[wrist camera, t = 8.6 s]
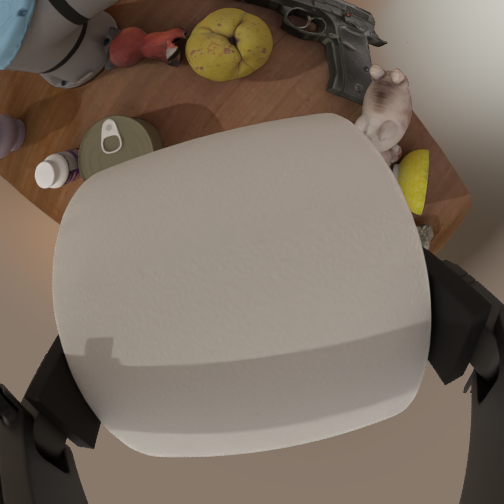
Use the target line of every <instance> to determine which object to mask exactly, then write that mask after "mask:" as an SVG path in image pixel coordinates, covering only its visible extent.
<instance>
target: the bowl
mask: <svg viewBox="0 0 504 504" xmlns="http://www.w3.org/2000/svg"><path fill="white" fill-rule="evenodd" d="M428 166H429V150H415V151H412V152H410V153H409V154H407V155H406V156H405V157H404V158H403V159H402V160H401V162H400V163H399V164H394V166H393V174H394V176H395V178H396V180H397V182H398V184H399V186H400V188H401V190H402V192H403V195H404V197H405V199H406V201H407V204H408V206H409V208H410V211H412V212H413V213H415V214H418V215H421V214H422V211H423V207H424V202H425V196H426V189H427V179H428Z"/></svg>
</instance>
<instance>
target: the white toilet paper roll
mask: <svg viewBox="0 0 504 504" xmlns="http://www.w3.org/2000/svg"><path fill="white" fill-rule="evenodd" d="M52 293H53V304H54V313H55V319H56V323H57V328H58V332H59V337H60V340H61V344H62V347H63V351H64V354H65V357H66V360H67V362H68V365H69V368H70V370H71V373H72V375H73V377H74V379H75V381H76V384H77V386H78V387H79V389H80V391H81V393H82V395H83V397H84V399H85V400H86V402H87V403H88V405H89V406H90V408H91V409H92V410H93V412H94V413H95V415H96V416H97V417H98V419H99V420H100V421H101V423H102V424H103V425H104V426H105V427H106V428H107V429H108V430H109V431H110V432H111V433H112V434H113V435H114V436H116V437H117V438H118V439H120V440H121V441H122V442H123V443H124V444H126V445H127V446H128V447H130V448H132V449H134V450H136V451H139V452H141V453H144V454H146V455H151V456H158V457H203V456H222V455H234V454H243V453H252V452H259V451H267V450H273V449H279V448H284V447H290V446H295V445H300V444H304V443H309V442H312V441H317V440H321V439H325V438H329V437H332V436H336V435H340V434H343V433H346V432H350V431H352V430H356V429H359V428H362V427H365V426H368V425H371V424H373V423H376V422H379V421H382V420H384V419H387V418H390V417H392V416H395V415H397V414H399V413H400V412H402V411H403V410H404V409H406V408H407V407H408V405H409V404H410V403H411V402H412V400H413V399H414V397H415V395H416V393H417V391H418V389H419V387H420V384H421V381H422V379H423V376H424V372H425V368H426V364H427V360H428V354H429V347H430V336H431V299H430V288H429V280H428V273H427V267H426V262H425V257H424V253H423V249H422V244H421V240H420V237H419V234H418V231H417V228H416V225H415V222H414V219H413V216H412V213H411V211H410V208H409V206H408V204H407V201H406V199H405V197H404V195H403V192H402V190H401V188H400V186H399V184H398V182H397V180H396V178H395V176H394V174H393V172H392V171H391V169H390V168H389V166H388V165H387V163H386V162H385V160H384V158H383V157H382V155H381V154H380V152H379V151H378V150H377V148H376V147H375V146H374V145H373V143H372V142H371V141H370V140H369V139H368V137H367V136H366V135H365V134H364V133H363V132H362V131H361V130H360V129H359V128H358V127H356V126H355V125H354V124H353V123H351V122H350V121H349V120H347V119H345V118H343V117H342V116H339V115H337V114H333V113H321V114H313V115H306V116H299V117H293V118H287V119H281V120H275V121H270V122H265V123H259V124H255V125H250V126H245V127H241V128H236V129H232V130H228V131H223V132H219V133H215V134H211V135H208V136H204V137H200V138H197V139H193V140H189V141H186V142H183V143H179V144H176V145H173V146H169V147H166V148H163V149H160V150H157V151H154V152H151V153H148V154H145V155H142V156H140V157H137V158H134V159H131V160H128V161H126V162H123V163H120V164H118V165H115V166H113V167H110V168H108V169H105V170H103V171H100V172H98V173H96V174H94V175H92V176H91V177H90V178H89V179H87V180H86V181H85V182H84V183H83V184H82V185H81V186H80V187H79V188H78V190H77V191H76V193H75V194H74V196H73V197H72V199H71V200H70V202H69V204H68V206H67V208H66V211H65V213H64V215H63V218H62V221H61V224H60V227H59V231H58V235H57V240H56V245H55V251H54V258H53V279H52Z"/></svg>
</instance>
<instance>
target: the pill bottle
mask: <svg viewBox="0 0 504 504" xmlns="http://www.w3.org/2000/svg"><path fill="white" fill-rule="evenodd" d="M78 153H79V150H77V149H72V150H67V151H63V152H59V153H55V154H52V155H50V156H48V157H47V158H46V159H45V160H44V161H43V162H41V163H40V164H39V165H38V166H37V168H36V171H35V179H36V182H37V184H38V185H39V186H40V187H42V188H48V187H51V188H58V187H61V186H63V185H65V184H67V183H69V182H72V181H74V180H76V179H78V178H80V177H81V174H80V171H79V166H78Z"/></svg>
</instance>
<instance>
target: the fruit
mask: <svg viewBox="0 0 504 504" xmlns="http://www.w3.org/2000/svg"><path fill="white" fill-rule="evenodd" d="M272 48H273V39H272V35H271V32H270V30H269V28H268V26H267V25H266V23H265V22H264V21H262V20H261V19H260V18H258V17H257V16H255V15H252V14H249V13H246V12H245V11H243V10H240V9H236V8H223V9H219V10H217V11H214V12H212V13H211V14H209V15H208V16H206V17H205V18H204V19H203V20H202V21H201V22H199V23H198V24H197V26H196V27H195V28H194V30H193V31H192V33H191V35H190V37H189V39H188V40H187V43H186V46H185V54H186V58H187V60H188V62H189V64H190V65H191V67H192V68H193V70H194V71H195V72H196V73H197V74H199V75H200V76H202V77H204V78H207V79H209V80H213V81H218V82H224V81H229V80H232V79H235V78H241V77H245V76H248V75H249V74H251V73H252V72H254V71H255V70H257V69H258V68H260V67H261V66H262V65H263V64H264V63H266V61H267V60H268V58H269V56H270V54H271V51H272Z"/></svg>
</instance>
